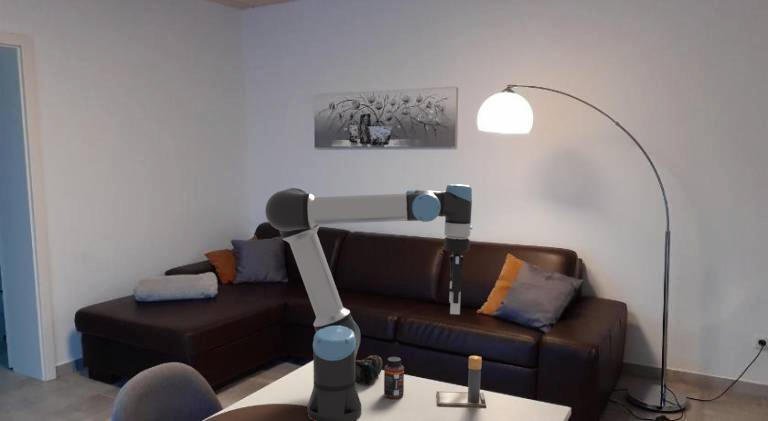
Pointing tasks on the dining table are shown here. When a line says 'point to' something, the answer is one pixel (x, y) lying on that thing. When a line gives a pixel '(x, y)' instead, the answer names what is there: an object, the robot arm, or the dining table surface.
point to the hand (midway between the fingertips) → (454, 308)
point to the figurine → (367, 369)
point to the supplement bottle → (394, 378)
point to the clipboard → (458, 399)
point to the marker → (474, 379)
